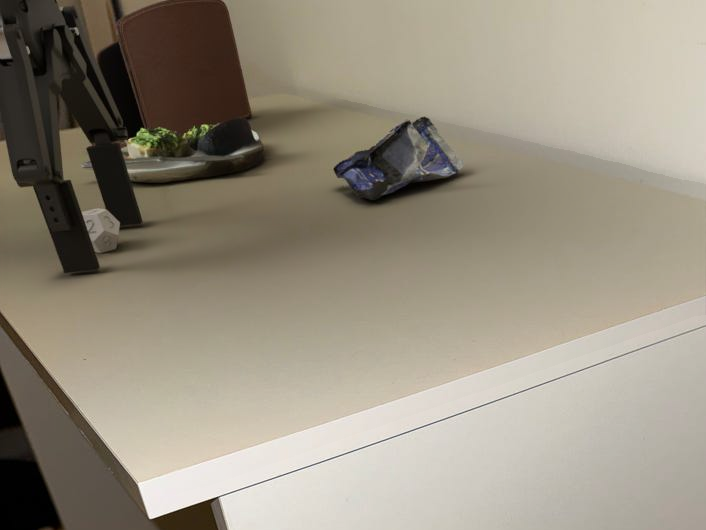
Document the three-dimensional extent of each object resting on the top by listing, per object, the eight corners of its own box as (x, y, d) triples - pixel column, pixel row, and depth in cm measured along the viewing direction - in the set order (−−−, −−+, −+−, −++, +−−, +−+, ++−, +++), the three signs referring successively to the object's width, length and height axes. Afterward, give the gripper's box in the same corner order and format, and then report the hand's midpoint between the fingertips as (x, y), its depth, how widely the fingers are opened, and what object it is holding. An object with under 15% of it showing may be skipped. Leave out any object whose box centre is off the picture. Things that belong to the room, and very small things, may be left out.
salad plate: (81, 200, 94) (65, 150, 91) (93, 164, 108) (79, 120, 105) (271, 172, 97) (261, 123, 94) (259, 141, 111) (250, 97, 108)
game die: (74, 252, 80) (62, 216, 78) (110, 240, 82) (99, 204, 80) (98, 257, 78) (86, 220, 76) (135, 245, 80) (123, 208, 78)
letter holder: (253, 117, 124) (226, -11, 115) (154, 153, 110) (115, 11, 101) (195, 117, 127) (164, -7, 118) (92, 152, 114) (49, 14, 105)
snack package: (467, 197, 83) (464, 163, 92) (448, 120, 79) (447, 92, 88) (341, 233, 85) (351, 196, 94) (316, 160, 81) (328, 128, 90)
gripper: (-15, -66, 56) (106, 289, 70) (105, -79, 75) (182, 203, 89) (-134, -53, 57) (9, 298, 70) (15, -69, 76) (106, 211, 89)
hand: (106, 246), depth 80 cm, fingers open, 12 cm apart
